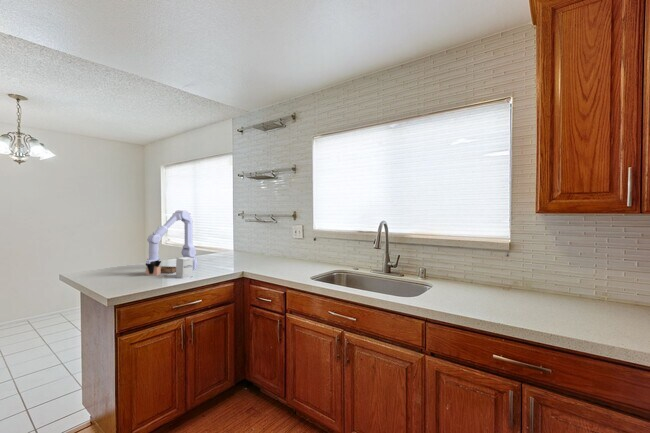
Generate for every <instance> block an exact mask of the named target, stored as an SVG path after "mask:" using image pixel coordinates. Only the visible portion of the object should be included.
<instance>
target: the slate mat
mask: <svg viewBox="0 0 650 433" xmlns="http://www.w3.org/2000/svg"><path fill="white" fill-rule="evenodd" d="M168 275H169V274H167V273H161V274H159V275H146V274H145V275H143V276H151V277H165V276H168Z"/></svg>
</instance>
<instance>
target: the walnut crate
mask: <svg viewBox="0 0 650 433" xmlns="http://www.w3.org/2000/svg"><path fill="white" fill-rule="evenodd" d="M161 273H167V274H168V275H171V274H174V273H175V274H176V266H169V265H168V266H163V265H162V266H161Z"/></svg>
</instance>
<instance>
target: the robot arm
mask: <svg viewBox="0 0 650 433" xmlns="http://www.w3.org/2000/svg"><path fill="white" fill-rule="evenodd" d="M177 221H180V222H182V223H184V224H183V225H184V244H183V245H182V249H181V255H182V258H183V257H189V258H193V271H195V270H198V269H199V267H198V264H199V263H198V262H199V261H198V258H197V257H195V256H196V255H197V250H196V246H195V245H194V242H193V240H194V239H193V237H194V234H193V232H194V229H193V227H194V225H193V222H194V221H193V218H192V217H191V213H190V212H189V211H188V210H180V209H179V210H178V209H177V210H175V212H173V213H172V215H171V216H170V218H169V219H168V220H167V221H166V222H165V223H164V224H163V225H160V226H158V227H157V229H156V230H155V231H153V232H152V234H149V235H148V236H147V238H146V239H147V240H146V241H147V242H148V258H147V259H146V262H145V266H146V267H147V268H148V271H149V274H153V272H154V266H160V265H161V263H162V260H161V257H160V254H159V252H160V251H159V250H160V249H159V248H160V247H159V246H160V242H161V241H162V238H163V237H164V236H165V235H166V234H167V233H168V230H169V228H170V227H172V225H174V223H176V222H177Z"/></svg>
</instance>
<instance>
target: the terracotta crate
mask: <svg viewBox="0 0 650 433" xmlns="http://www.w3.org/2000/svg"><path fill="white" fill-rule="evenodd" d="M161 267H162V266H160V265H159V266H154V272H153V274H149V271H148V268H147V266H146V267H145V275H159V274H161Z"/></svg>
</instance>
